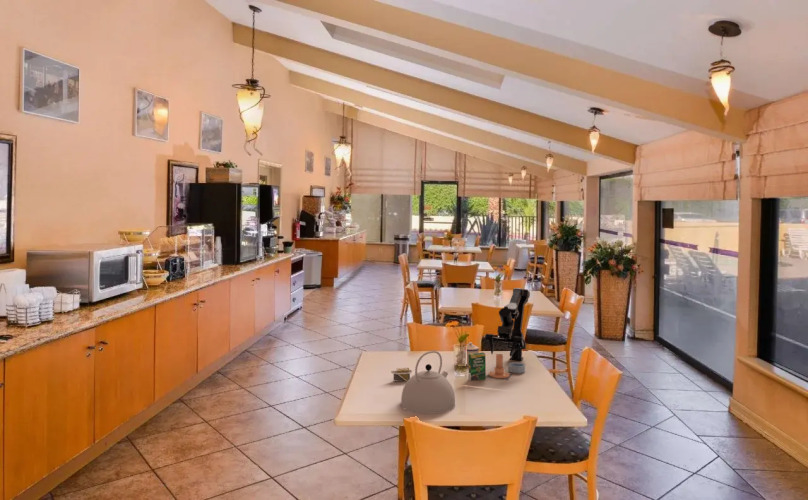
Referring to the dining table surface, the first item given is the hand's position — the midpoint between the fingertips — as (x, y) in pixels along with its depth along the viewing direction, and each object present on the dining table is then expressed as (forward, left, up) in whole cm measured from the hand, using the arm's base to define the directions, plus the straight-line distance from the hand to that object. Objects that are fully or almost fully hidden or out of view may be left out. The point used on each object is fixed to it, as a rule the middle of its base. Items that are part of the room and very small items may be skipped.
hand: (500, 354), depth 282 cm
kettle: (+52, -19, -11) cm, 56 cm away
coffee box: (+13, -9, -10) cm, 18 cm away
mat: (+3, 0, -10) cm, 11 cm away
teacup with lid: (-13, -21, -10) cm, 27 cm away
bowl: (-8, +6, -10) cm, 15 cm away
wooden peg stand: (+3, 0, -10) cm, 10 cm away
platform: (+28, -41, -11) cm, 51 cm away
